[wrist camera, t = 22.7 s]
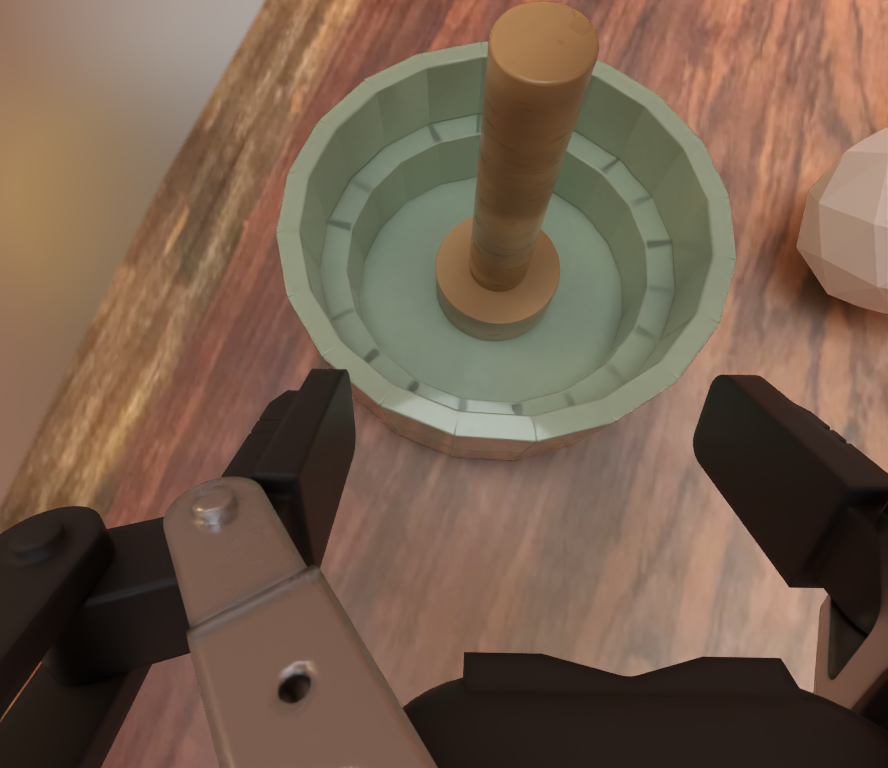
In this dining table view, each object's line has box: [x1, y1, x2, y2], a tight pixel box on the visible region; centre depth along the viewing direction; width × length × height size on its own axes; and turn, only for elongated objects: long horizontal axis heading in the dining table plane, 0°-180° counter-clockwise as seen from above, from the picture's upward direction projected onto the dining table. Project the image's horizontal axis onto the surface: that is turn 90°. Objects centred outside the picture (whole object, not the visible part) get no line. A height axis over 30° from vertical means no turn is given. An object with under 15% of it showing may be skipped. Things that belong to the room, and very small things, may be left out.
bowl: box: [276, 41, 736, 461], centre depth 19 cm, size 16×16×6 cm
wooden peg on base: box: [435, 1, 599, 341], centre depth 15 cm, size 5×5×12 cm
